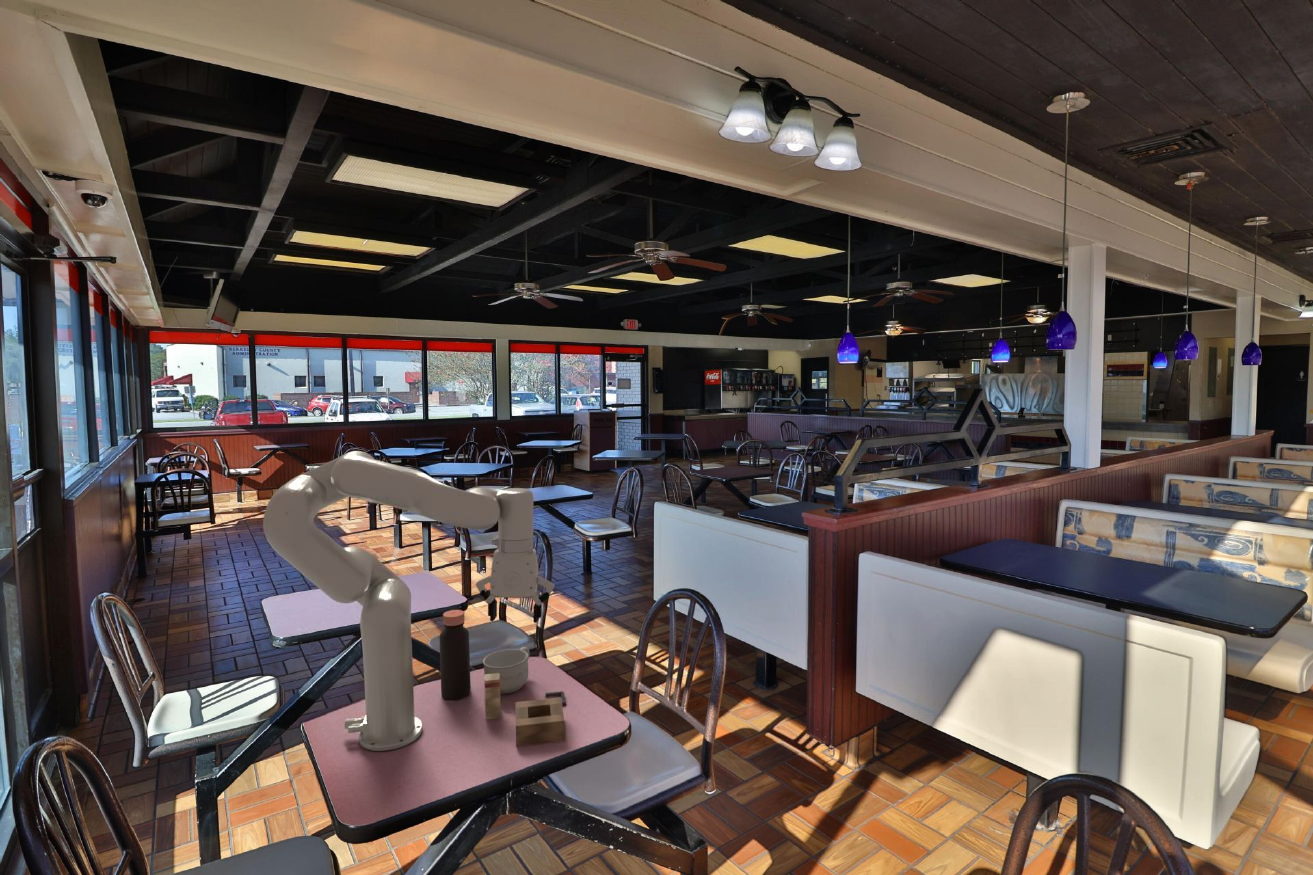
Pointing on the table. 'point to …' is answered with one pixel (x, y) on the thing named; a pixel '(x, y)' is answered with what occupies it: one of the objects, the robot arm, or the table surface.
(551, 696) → the dark gray angular bracket
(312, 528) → the robot arm
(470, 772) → the table surface
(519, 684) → the teacup
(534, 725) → the wooden square socket block
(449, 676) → the bottle
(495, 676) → the red striped block
